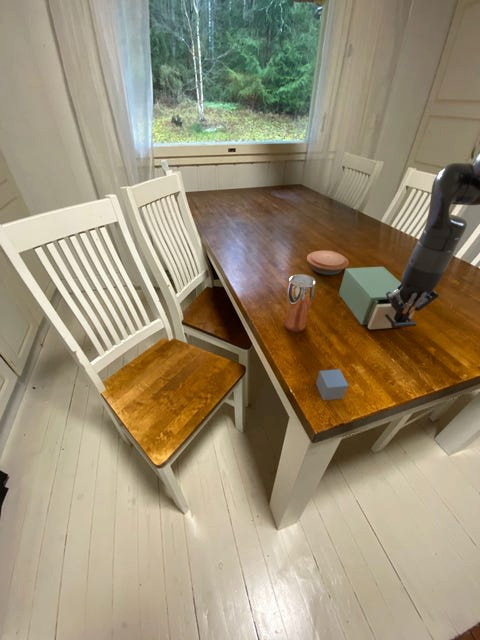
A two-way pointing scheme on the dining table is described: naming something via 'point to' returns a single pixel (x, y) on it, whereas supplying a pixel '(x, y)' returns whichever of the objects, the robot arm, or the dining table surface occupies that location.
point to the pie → (327, 262)
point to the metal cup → (299, 301)
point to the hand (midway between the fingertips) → (398, 322)
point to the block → (331, 384)
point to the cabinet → (366, 289)
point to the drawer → (385, 316)
